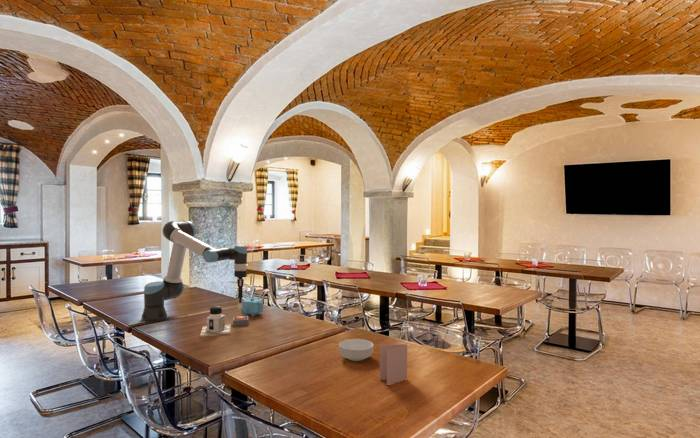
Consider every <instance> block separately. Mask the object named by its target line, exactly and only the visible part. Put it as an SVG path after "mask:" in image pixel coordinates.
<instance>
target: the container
mask: <svg viewBox="0 0 700 438" xmlns="http://www.w3.org/2000/svg"><path fill="white" fill-rule="evenodd" d="M222 309H223V307H222V306H211V307H210V308H209V316H207V317H206V326H207V331H220V330H222V329H223V328H225V325H226V314H223V313H222V312H223V310H222Z"/></svg>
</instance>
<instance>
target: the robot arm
mask: <svg viewBox="0 0 700 438" xmlns="http://www.w3.org/2000/svg"><path fill="white" fill-rule="evenodd" d="M196 232H197V228H196V226H195V225H194V223H193V222H192V221H190V220H175V221H173V220H172V221H169V222H167V223H165V224H164V225H163V227H162V235H163V237H164V238H165V239H166V240H167V241H169V242H171V243H172V246H171V252H170V257H169V263H168V267H167V272H166V275H165V276H164V277H163V278H162V279H163V280H162V281H160V280H159V281H153V282H152V281H151V282H149V283H147V284H145V285H144V288H143V300H144V301H143V303H144V304H143V305H144V308H143V311H142V314H141V317H140V318H141V320H140V321H141V322H143V321H145V322H144V323H155V321H157V322H161V321H164V320H167V319H168V313H167V310H166V308H165V301H168V300H172V299H176V298H179V297H180V296H182V295H183V293H184V292H185V284H184V282H183V279H182V278H181V276H182V275H181V274H182V272H183V267H184V261H185V256H186V251H187V249H188V250H190V251H191V252H193V253H195V254H197V255H199V256H201V257H202V258H203V260H204V262H205V263H212V264H213V263H216V262H222V261H227V260H231V261H234V263H233V264H234V266H233V268H234V269H233V270H234V271H233V273H234V274H233V276H234V277H235V278H237V281H236V282H237V289H238V290H237V291H238V292H237V297H236V299H237V309H241V308H242V301H244V299H243V298H244V293H243V287H244V282H245V279H244V278H246V277H247V275H248V273H247V272H248V271H247V269H248V266H249V264H247V263H248V247H247V245H245V244H236V245H234V247H227V246H221V247H219V248H214V247H212V246H210V245H209V244H206V243H205V242H203V241H201V240H199V239H197V238H195V236H196Z"/></svg>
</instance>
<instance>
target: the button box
mask: <svg viewBox="0 0 700 438" xmlns="http://www.w3.org/2000/svg"><path fill="white" fill-rule="evenodd" d="M244 316H245V315H244ZM236 317H238V315H237V316H233V318H232V326H233V327H239V326H240V327H242V326H249V315H248V316H245V317H246V319H243V320H236Z"/></svg>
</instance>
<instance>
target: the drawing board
mask: <svg viewBox="0 0 700 438" xmlns="http://www.w3.org/2000/svg"><path fill="white" fill-rule="evenodd" d="M231 326H232V325H231V323H229V324H225V328H223V329H222V330H220V331H207V325H203V326H202V328H201V330H200V331H201V332H200V335H199V337H200V338H204V337H216V336H230V335H231V328H232V327H231Z"/></svg>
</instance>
